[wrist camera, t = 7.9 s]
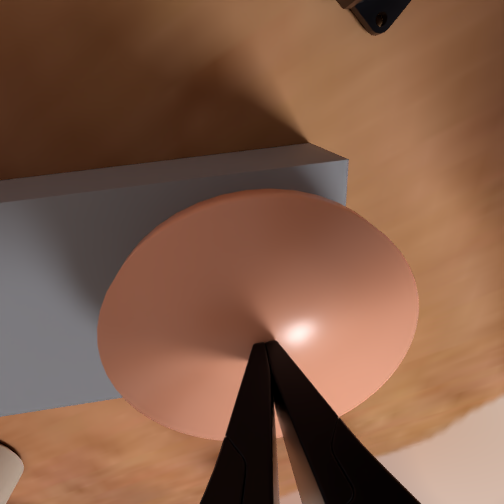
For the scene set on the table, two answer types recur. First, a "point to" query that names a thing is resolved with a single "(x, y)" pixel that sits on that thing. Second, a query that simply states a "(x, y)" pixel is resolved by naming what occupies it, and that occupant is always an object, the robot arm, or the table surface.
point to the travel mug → (9, 472)
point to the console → (107, 254)
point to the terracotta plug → (255, 306)
